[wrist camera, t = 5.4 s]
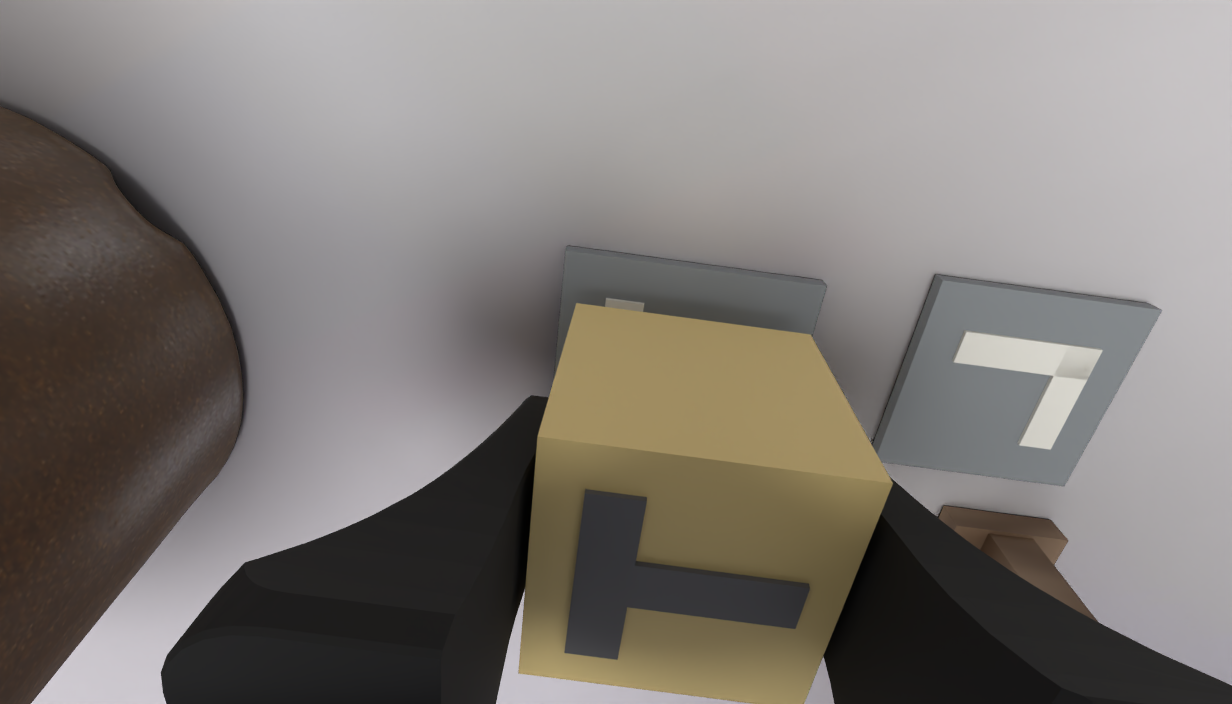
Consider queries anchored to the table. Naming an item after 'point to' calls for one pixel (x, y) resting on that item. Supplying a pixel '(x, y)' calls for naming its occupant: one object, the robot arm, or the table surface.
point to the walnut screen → (1018, 547)
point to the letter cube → (694, 509)
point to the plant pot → (94, 396)
